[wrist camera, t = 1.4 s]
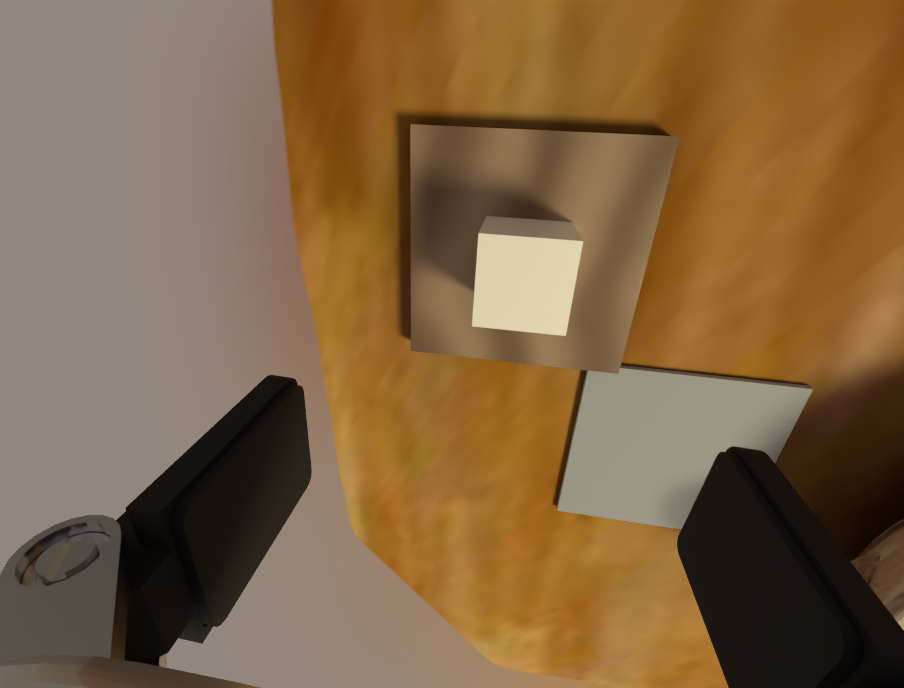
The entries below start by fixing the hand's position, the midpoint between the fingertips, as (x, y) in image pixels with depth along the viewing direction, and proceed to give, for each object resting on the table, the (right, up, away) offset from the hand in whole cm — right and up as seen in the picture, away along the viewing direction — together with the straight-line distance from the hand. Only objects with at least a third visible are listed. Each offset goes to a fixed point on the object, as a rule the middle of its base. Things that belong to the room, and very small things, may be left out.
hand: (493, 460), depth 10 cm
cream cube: (+4, +8, +19) cm, 21 cm away
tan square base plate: (+4, +9, +20) cm, 23 cm away
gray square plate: (+17, -7, +26) cm, 32 cm away
